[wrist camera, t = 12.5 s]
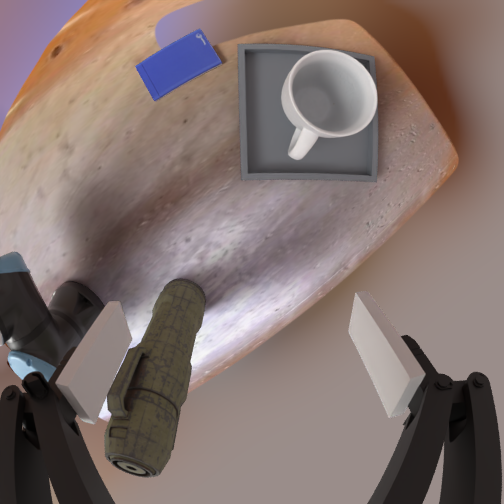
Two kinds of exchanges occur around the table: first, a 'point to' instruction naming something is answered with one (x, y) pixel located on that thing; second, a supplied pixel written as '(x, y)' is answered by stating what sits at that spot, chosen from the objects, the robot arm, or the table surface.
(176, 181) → the table surface
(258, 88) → the tray
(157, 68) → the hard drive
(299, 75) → the mug
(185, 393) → the thermos
